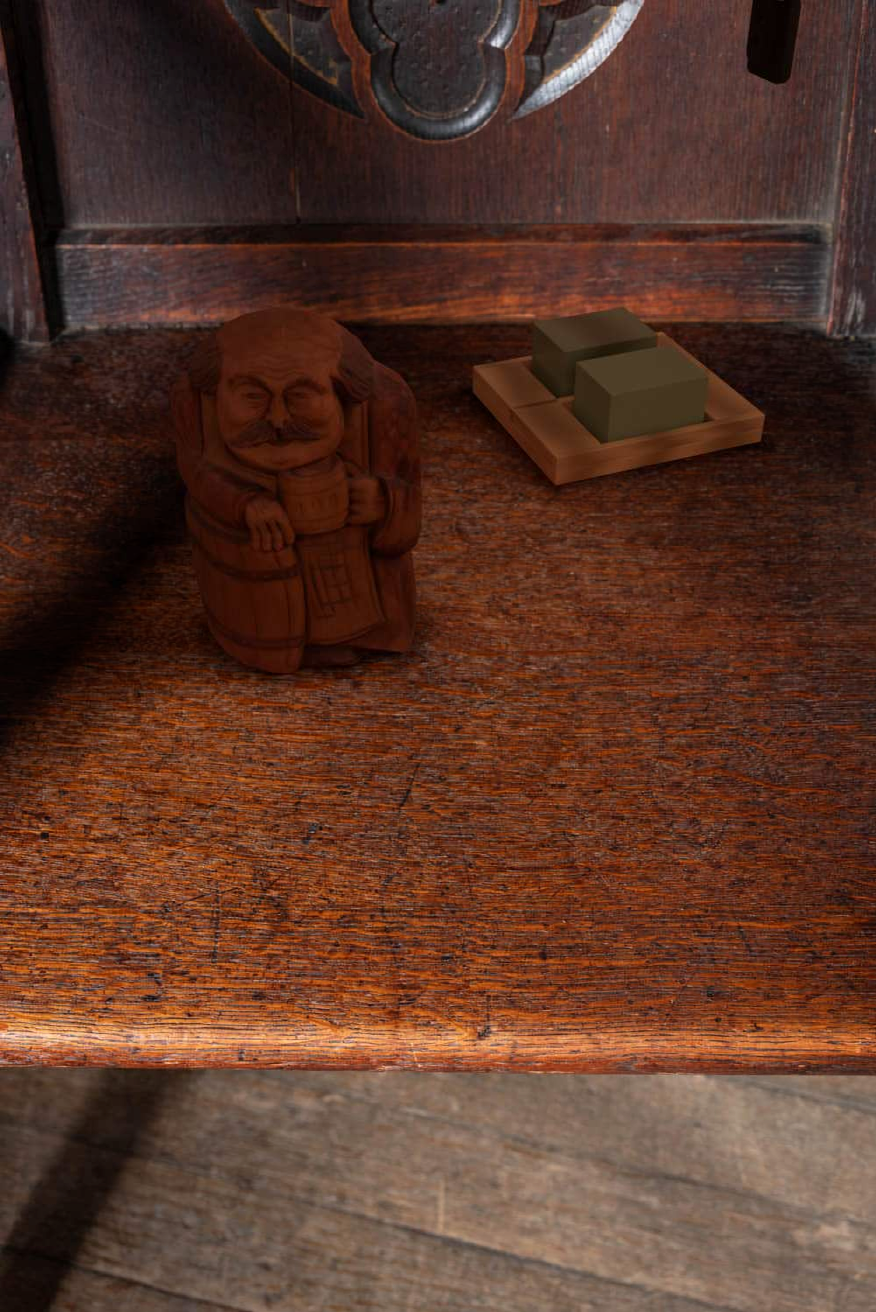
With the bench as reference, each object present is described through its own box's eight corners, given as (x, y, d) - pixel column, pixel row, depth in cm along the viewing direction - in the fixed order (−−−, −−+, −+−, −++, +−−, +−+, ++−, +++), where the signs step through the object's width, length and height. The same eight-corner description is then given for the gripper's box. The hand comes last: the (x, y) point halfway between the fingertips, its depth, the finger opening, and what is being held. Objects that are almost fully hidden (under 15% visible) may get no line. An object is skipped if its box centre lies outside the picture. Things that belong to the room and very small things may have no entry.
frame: (659, 356, 93) (666, 291, 90) (760, 441, 83) (772, 372, 80) (472, 391, 89) (472, 325, 86) (555, 486, 79) (559, 414, 76)
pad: (664, 398, 86) (671, 344, 83) (702, 431, 82) (709, 375, 80) (572, 417, 84) (575, 361, 82) (606, 451, 80) (611, 395, 78)
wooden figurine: (202, 684, 64) (147, 358, 53) (203, 610, 69) (153, 298, 58) (430, 662, 66) (424, 339, 54) (415, 591, 71) (407, 281, 59)
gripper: (800, -331, 52) (742, 104, 63) (1128, -338, 57) (1022, 68, 68) (707, -332, 58) (668, 68, 68) (1013, -339, 62) (932, 37, 73)
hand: (844, 68), depth 68 cm, fingers open, 9 cm apart
